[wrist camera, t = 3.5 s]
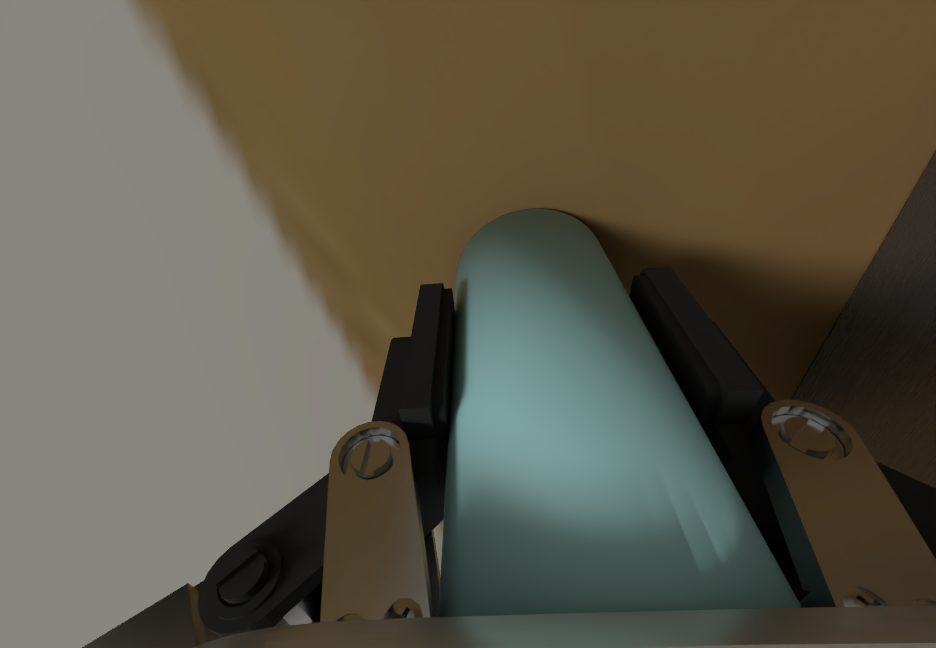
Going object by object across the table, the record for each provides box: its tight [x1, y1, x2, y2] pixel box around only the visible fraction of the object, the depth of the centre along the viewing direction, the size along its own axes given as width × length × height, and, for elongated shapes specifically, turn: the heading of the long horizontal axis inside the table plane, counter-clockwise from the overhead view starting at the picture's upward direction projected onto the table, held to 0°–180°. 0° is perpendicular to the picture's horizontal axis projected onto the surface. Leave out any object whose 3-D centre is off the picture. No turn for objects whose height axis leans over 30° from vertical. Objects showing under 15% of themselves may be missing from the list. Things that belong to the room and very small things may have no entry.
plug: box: [439, 209, 802, 617], centre depth 8 cm, size 4×4×10 cm
